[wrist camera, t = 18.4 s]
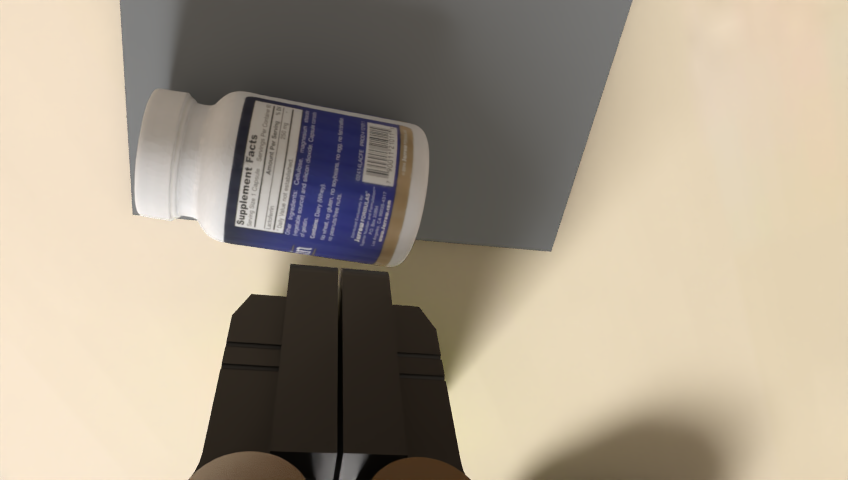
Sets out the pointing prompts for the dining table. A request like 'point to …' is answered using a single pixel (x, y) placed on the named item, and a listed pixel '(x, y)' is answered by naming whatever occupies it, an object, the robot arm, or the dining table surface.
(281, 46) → the mat
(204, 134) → the pill bottle
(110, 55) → the dining table surface
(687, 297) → the dining table surface
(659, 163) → the dining table surface
